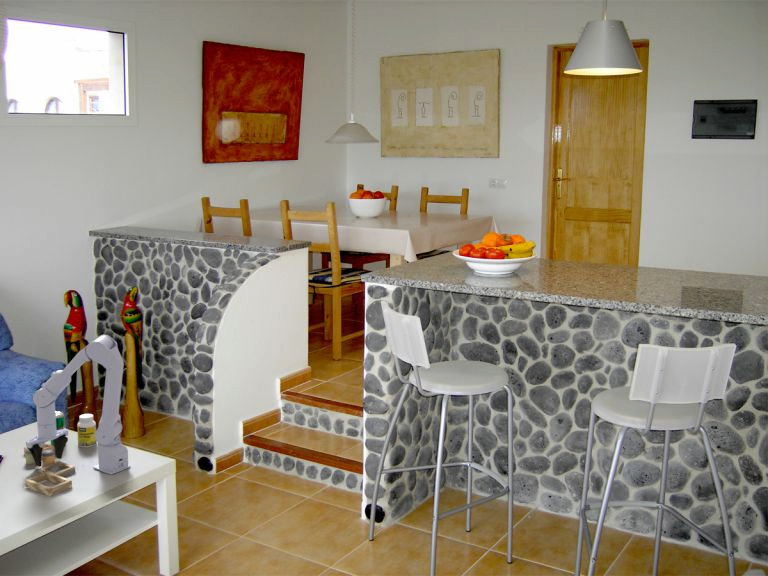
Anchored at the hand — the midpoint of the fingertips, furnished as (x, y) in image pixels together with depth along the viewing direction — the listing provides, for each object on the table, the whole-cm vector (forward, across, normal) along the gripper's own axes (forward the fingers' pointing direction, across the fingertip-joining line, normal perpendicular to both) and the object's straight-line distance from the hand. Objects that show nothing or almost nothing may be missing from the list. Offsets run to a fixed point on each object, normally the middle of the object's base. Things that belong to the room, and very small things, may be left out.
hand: (48, 461), depth 272 cm
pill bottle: (+2, -19, -5) cm, 20 cm away
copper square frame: (+2, -4, -11) cm, 12 cm away
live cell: (+2, 0, 0) cm, 2 cm away
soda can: (+2, -13, -13) cm, 18 cm away
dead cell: (+1, -4, -11) cm, 12 cm away
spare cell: (+2, +2, -6) cm, 6 cm away
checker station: (+2, +6, +12) cm, 13 cm away
